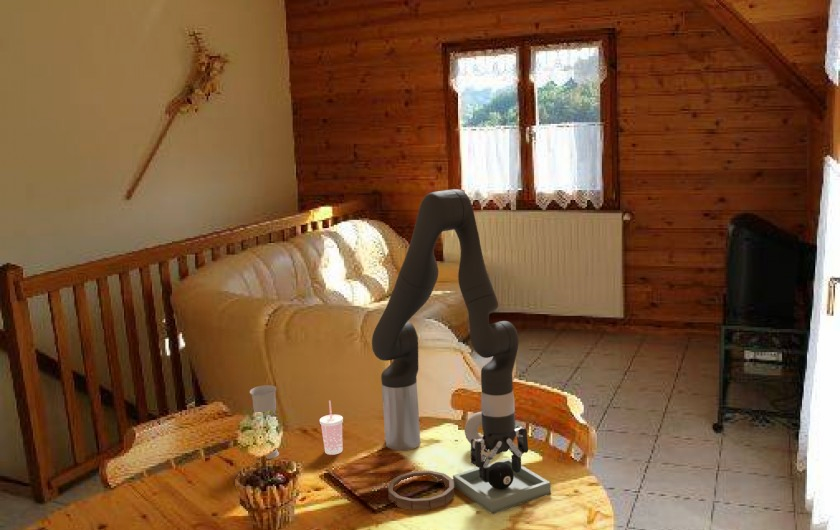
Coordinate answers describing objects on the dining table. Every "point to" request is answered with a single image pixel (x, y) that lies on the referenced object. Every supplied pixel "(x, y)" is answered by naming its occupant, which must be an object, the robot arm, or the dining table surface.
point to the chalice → (264, 404)
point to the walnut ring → (423, 502)
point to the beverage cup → (332, 432)
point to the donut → (473, 427)
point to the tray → (497, 500)
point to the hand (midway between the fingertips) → (500, 476)
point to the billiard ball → (500, 475)
